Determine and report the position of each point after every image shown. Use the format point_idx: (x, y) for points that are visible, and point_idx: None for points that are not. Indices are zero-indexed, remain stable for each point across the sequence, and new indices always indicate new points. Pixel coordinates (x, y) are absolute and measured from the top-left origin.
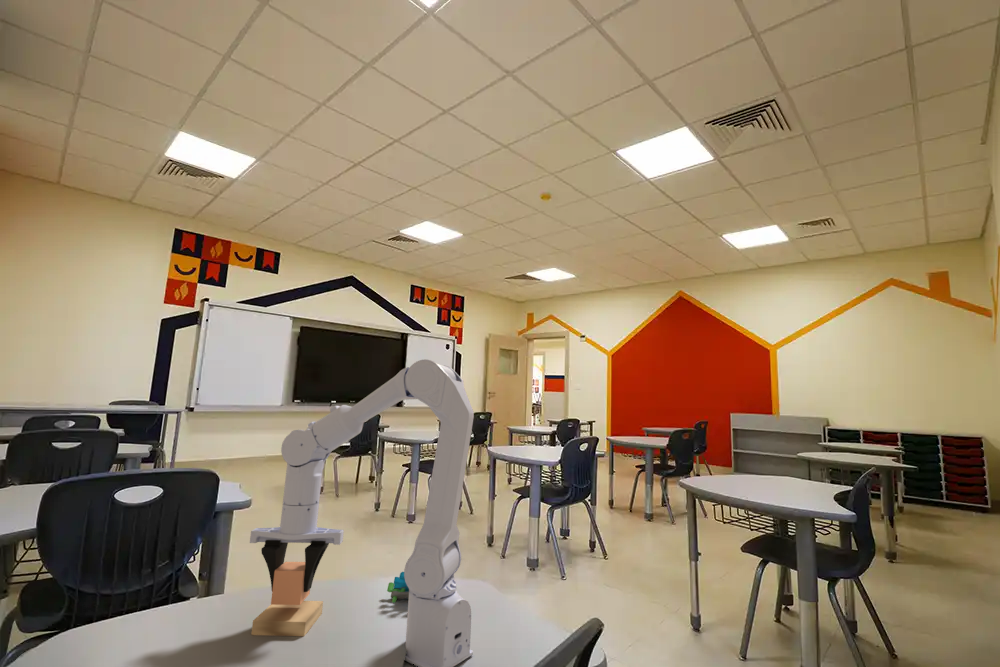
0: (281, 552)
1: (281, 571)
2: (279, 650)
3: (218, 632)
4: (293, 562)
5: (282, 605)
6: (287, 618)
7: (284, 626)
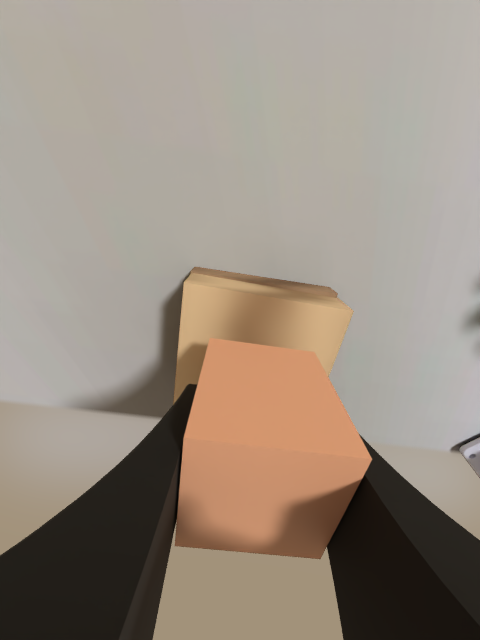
0: (148, 615)
1: (210, 544)
2: None
3: (81, 315)
4: (243, 456)
5: (221, 331)
6: None
7: None
